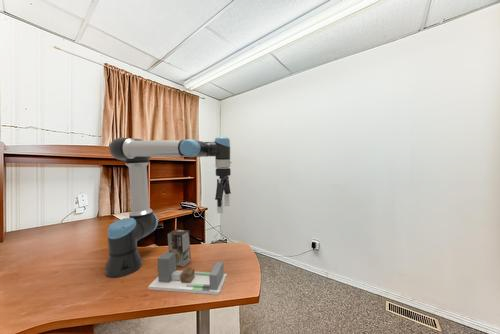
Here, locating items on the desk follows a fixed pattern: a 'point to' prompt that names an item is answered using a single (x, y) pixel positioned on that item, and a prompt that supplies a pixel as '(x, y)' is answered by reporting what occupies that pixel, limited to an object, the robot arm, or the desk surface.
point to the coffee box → (180, 246)
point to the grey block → (168, 268)
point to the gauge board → (196, 282)
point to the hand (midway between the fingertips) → (223, 209)
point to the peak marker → (187, 275)
